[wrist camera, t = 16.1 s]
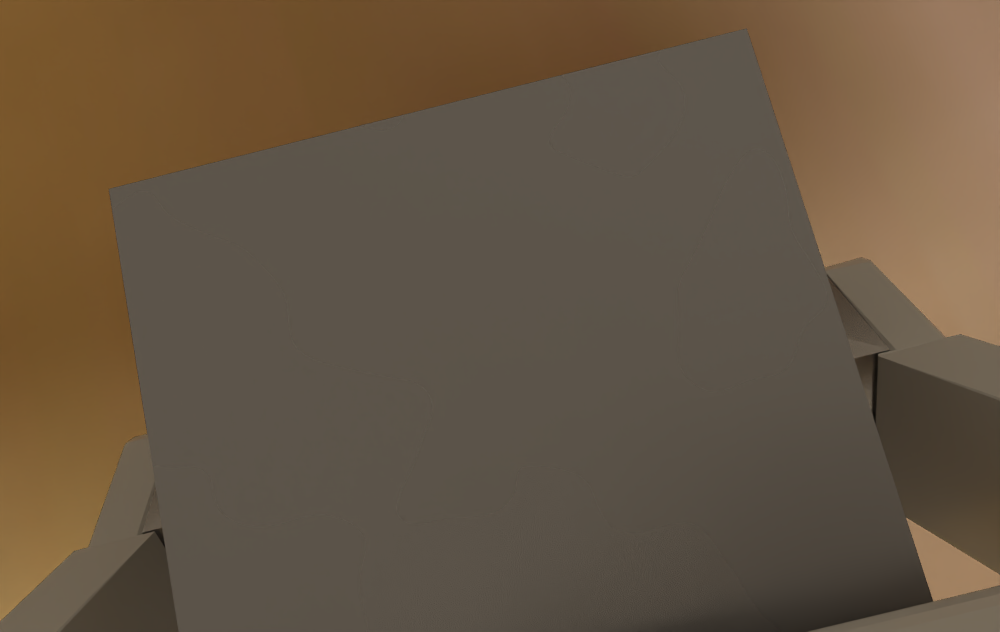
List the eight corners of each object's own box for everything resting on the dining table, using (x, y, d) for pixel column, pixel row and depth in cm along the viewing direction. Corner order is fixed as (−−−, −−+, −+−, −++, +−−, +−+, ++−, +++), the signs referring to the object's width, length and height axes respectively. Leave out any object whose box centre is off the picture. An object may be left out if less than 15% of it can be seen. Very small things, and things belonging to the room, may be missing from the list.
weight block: (643, 276, 15) (747, 28, 7) (731, 586, 14) (970, 716, 6) (347, 350, 15) (108, 188, 7) (412, 664, 14) (220, 898, 6)
